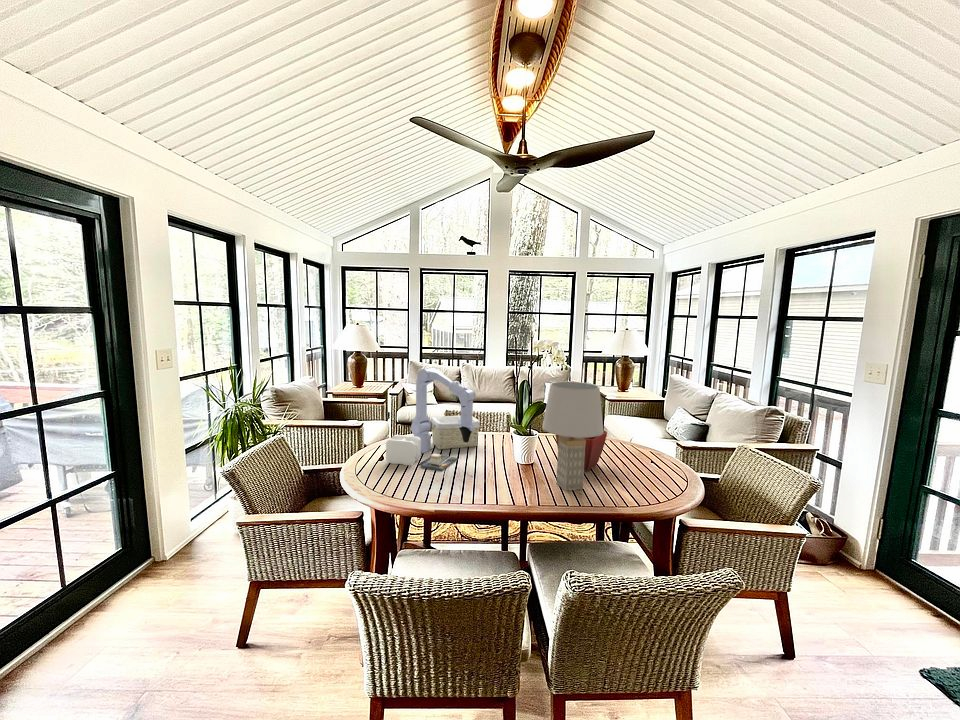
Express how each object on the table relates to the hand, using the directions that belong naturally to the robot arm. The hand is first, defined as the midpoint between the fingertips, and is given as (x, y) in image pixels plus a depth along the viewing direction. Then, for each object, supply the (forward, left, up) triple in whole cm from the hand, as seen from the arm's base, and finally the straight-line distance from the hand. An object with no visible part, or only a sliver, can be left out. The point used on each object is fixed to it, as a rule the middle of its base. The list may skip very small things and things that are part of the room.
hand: (465, 441), depth 211 cm
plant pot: (-20, +52, -10) cm, 57 cm away
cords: (+7, -17, -10) cm, 21 cm away
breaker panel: (+8, -10, -10) cm, 16 cm away
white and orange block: (+12, -10, -8) cm, 18 cm away
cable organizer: (+13, -27, -10) cm, 32 cm away
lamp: (+9, +52, -10) cm, 54 cm away
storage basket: (-23, -16, -10) cm, 30 cm away
